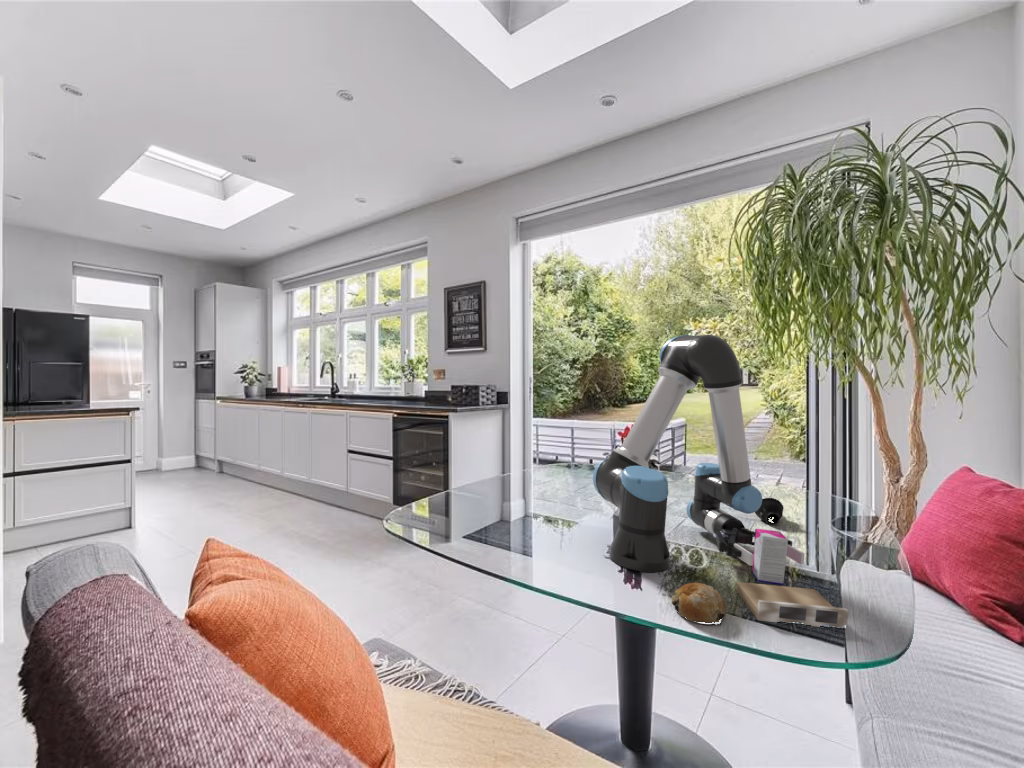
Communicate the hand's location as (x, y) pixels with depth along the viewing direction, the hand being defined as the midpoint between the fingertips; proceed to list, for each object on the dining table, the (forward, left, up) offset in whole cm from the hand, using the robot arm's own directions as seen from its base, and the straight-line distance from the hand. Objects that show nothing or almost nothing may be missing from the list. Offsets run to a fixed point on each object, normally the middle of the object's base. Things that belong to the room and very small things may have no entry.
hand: (777, 559), depth 115 cm
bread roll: (-27, -11, -6) cm, 30 cm away
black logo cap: (+32, +44, -6) cm, 55 cm away
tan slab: (-5, -11, -6) cm, 13 cm away
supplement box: (0, +2, -6) cm, 7 cm away
